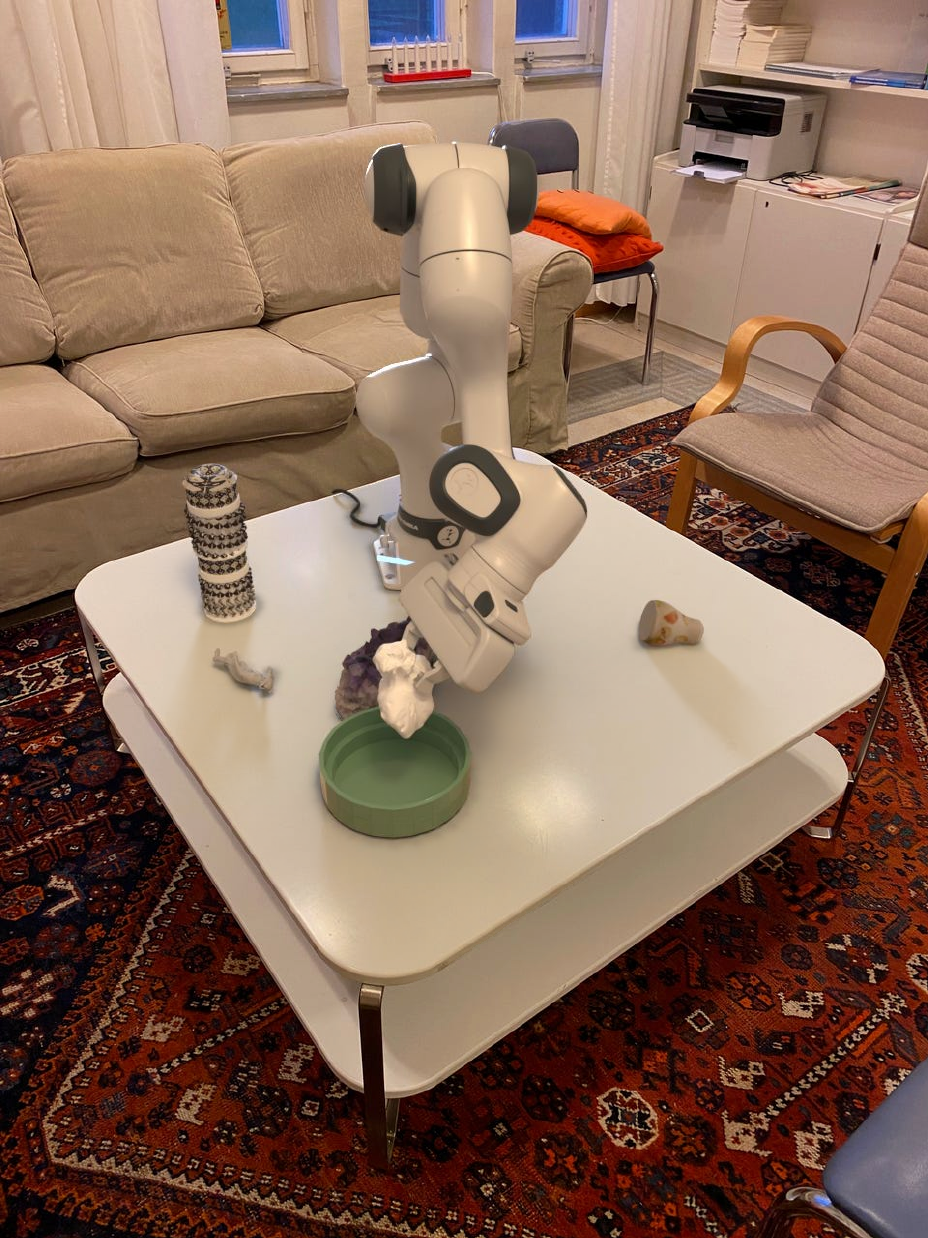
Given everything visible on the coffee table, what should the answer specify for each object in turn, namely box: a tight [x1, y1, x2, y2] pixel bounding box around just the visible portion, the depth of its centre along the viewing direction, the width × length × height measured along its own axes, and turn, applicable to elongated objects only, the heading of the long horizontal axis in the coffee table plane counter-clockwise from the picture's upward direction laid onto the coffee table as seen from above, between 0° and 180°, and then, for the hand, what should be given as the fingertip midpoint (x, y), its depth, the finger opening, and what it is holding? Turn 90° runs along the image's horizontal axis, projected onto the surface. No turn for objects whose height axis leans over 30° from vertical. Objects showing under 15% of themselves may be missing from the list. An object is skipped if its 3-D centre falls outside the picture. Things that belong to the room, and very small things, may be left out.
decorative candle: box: [181, 463, 257, 624], centre depth 150 cm, size 9×9×25 cm
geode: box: [334, 615, 435, 721], centre depth 137 cm, size 20×12×10 cm, turn 160°
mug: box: [638, 599, 705, 646], centre depth 149 cm, size 8×10×10 cm
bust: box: [373, 639, 435, 739], centre depth 115 cm, size 12×8×11 cm
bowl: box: [318, 706, 472, 838], centre depth 122 cm, size 19×19×6 cm
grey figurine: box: [211, 647, 275, 693], centre depth 140 cm, size 8×5×12 cm
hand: (408, 673), depth 115 cm, fingers closed on bust, 5 cm apart
